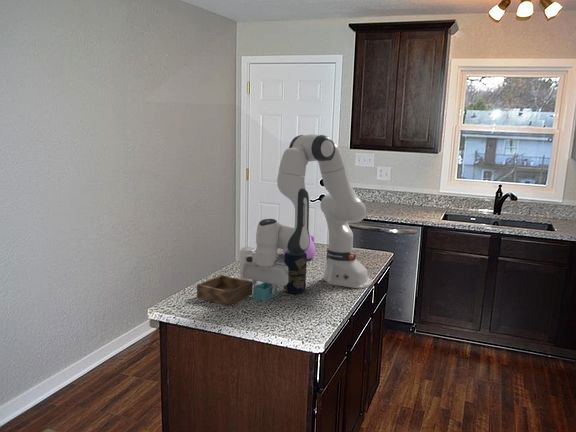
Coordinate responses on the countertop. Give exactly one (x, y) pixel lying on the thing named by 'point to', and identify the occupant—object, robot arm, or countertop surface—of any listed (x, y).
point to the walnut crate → (224, 290)
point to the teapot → (310, 249)
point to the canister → (295, 272)
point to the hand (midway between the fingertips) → (264, 292)
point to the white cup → (242, 254)
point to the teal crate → (263, 291)
